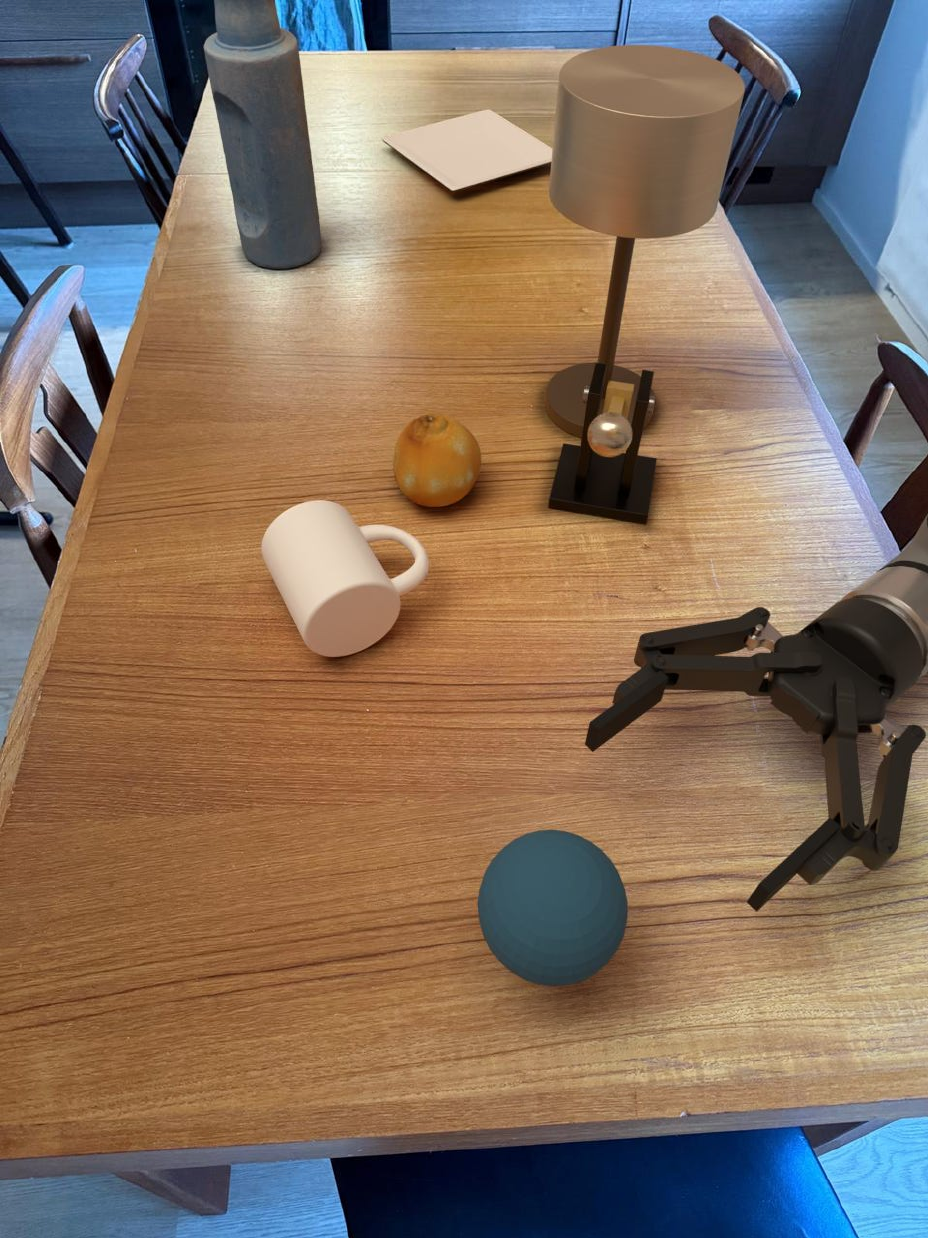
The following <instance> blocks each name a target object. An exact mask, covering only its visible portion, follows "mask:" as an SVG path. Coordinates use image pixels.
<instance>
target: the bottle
mask: <svg viewBox="0 0 928 1238" xmlns="http://www.w3.org/2000/svg"><path fill="white" fill-rule="evenodd" d="M274 1H275V0H213V3H214V19H215V29H216V32H214V33H213V34H211V35H210V36H208V37H207V38H206V40H205V41H204V44H203V51H204V59H205V63H206V68H207V75H208V79H209V85H210V90H211V95H212V100H213V103H214V107H215V108H214V109H215V114H216V119H217V123H218V128H219V134H220V139H221V143H222V149H223V154H224V159H225V166H226V170H227V175H228V181H229V186H230V190H231V195H232V201H233V208H234V214H235V215H234V216H235V219H236V226H237V229H238V234H239V240H240V243H241V245H240V246H241V250H242V253H243V255H244V256H245V258H246V259H247V260H248V261H250V262H251V263H252V264H254V265H255V266H257V267H262V268H266V269H273V270H287V269H291V268H297V267H300V266H303V265H306V264H307V263H309V262H312V261H313V260H314V259H315V258H317V256H319V254H320V253H321V251H322V245H323V241H322V233H321V223H320V213H319V206H318V197H317V189H316V181H315V172H314V164H313V157H312V149H311V140H310V134H309V125H308V116H307V110H306V100H305V92H304V91H305V90H304V82H303V73H302V67H301V66H302V65H301V58H300V51H299V44H298V39H297V37H296V36H295V35H294V34H293V33H292V32H291V31H289V30H287V29H285V28H282V27H281V25H280V19H279V16H278V12H277V7H276V4H275V2H274Z"/></svg>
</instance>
